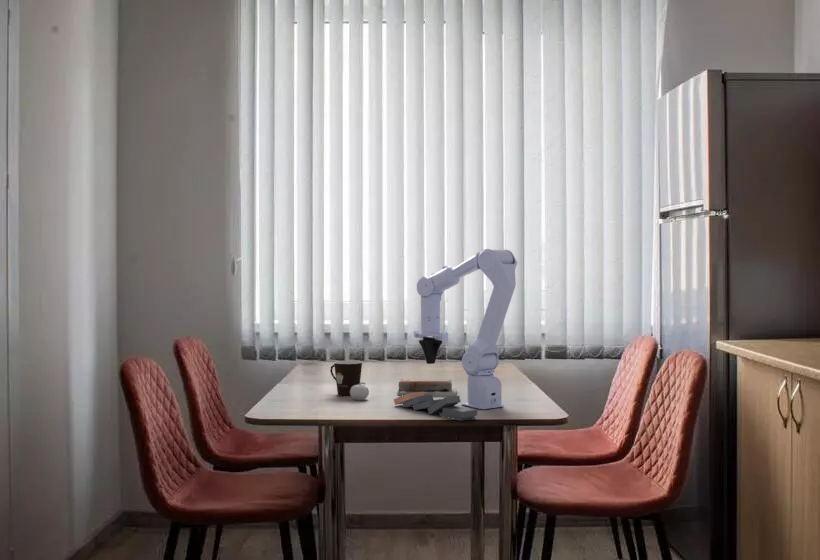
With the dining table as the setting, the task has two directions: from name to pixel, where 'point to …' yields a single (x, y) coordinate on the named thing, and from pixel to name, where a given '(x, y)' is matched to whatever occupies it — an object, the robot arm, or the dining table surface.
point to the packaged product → (426, 387)
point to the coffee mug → (346, 375)
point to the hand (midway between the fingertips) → (430, 363)
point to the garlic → (359, 391)
